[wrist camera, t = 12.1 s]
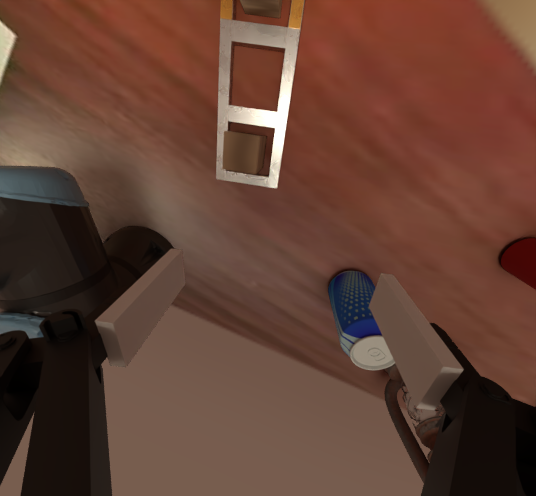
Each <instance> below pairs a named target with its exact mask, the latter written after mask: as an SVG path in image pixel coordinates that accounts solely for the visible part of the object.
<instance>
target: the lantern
mask: <svg viewBox="0 0 536 496" xmlns="http://www.w3.org/2000/svg"><path fill="white" fill-rule="evenodd" d="M384 370H385V371H386V372H387V373H388V374H389V376H390V378H391V379H390V380H389V381H388V383H387V385H386V387H385V401H386V405H387V407H388V411H389V414H390V416H391V418H392V421H393V423H394V425H395V427H396V429H397V431H398V433H399V436H400V438H401V440H402V442H403V444H404V446H405V448H406V450H407V452H408V454H409V456H410V458H411V460H412V462H413V464H414V466H415V468H416V470H417V472H418V474H419V475H420V477H421V479H422V481H423V483H424V482H425V478H426V475H427V471H428V467H429V462H430V460H431V456H432V452H433V448H434V445H435V441H436V437H437V433H438V430H439V427H438V428H437V427H435V425H436V423H437V422H438V421H439V419H440V418H441V417H442V416H439V415H440V413H441V411H442V413H443V414H444V413H445V409H444V408H443V406H442V404H440V403H439V404H438V406H437V407H438V408H439V409H438V408H437V407H436V408H437V410H427V409H420V410H422V412H420V410H419V409H416V408H414V402H413V400H411V401H410V399H411V397H410V393H409V391H407V392H405V390H406V389H405V388H406V385H405V383H404V381H403V378H402V376H401V374H400V372H399V370H398V368H397V366H396V364H393V365H392V366H390V367H388V368H385V369H384ZM402 386H405V387H404V390H403V388H402ZM400 388H402V390H403V392H404V395H405V398H406V399H404V395H403V399H404V402H405V403H406V406H407V409H408V414H409V413H410V412H413V414H412V413H410V414H409V416H410V415H411V414H412V415H414V416H413V417H414V418H416V419H414V420H415V421H416V422H419V424H418V425H417V427H416V426H414V427H415V430H416V434H417V436H418V437H419V438H420V440H421V442H422V444H424V445H425V446H426V447H428V448H430V450H431V451H430V452H429V454H428V460H429V462H428V460H427V459H426V457H425V455H424V453H423V451H422V450H421V448H420V446H419V444H418V442H417V440H416V438H415V437H414V435H413V433H412V431H411V429H410V427H409V426H408V424H407V422H406V420H405V418H404V416H403V414H402V412H401V409H400V407H399V404H398V401H397V392H398V390H399V389H400ZM406 394H407V395H406ZM409 397H410V399H409ZM407 402H408V403H407ZM439 405H441V406H442V407H441V406H440V407H439ZM442 408H443V409H442ZM418 410H419V411H418ZM435 411H439V412H438V413H436V412H435ZM443 411H444V412H443ZM421 413H422V414H421ZM443 414H441V415H443ZM415 415H416V416H415ZM417 416H418V417H417ZM410 418H411V419H413V418H412V417H411V416H410ZM413 425H414V424H413Z"/></svg>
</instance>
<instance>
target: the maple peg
mask: <svg viewBox="0 0 536 496" xmlns="http://www.w3.org/2000/svg"><path fill="white" fill-rule="evenodd" d="M240 2H241V4H242V7H243V9H244V12H245V14H250V15H258V16H265V17H273V18H280V16H281V7H282V0H240Z"/></svg>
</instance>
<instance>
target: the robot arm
mask: <svg viewBox="0 0 536 496" xmlns="http://www.w3.org/2000/svg"><path fill="white" fill-rule="evenodd" d="M88 206H89V203H88V202H86V200H85V198H84V196H83V194H82V192H81V190H80V188H79V186H78V184H77V181H76V180H75V178H74V177H73V176H72V175H71V174H70V173H68V172H67V171H65V170H63V169H60V168H55V167H38V166H0V485H1V483H2V481H3V478H4V476H5V474H6V472H7V470H8V467H9V465H10V463H11V461H12V459H13V457H14V455H15V452H16V450H17V448H18V446H19V444H20V441H21V439H22V437H23V435H24V433H25V431H26V429H27V426H28V424H29V422H30V420H31V418H32V416H33V413H34V418H33V425H32V430H31V436H30V443H29V448H28V454H27V460H26V466H25V472H24V478H23V484H22V491H21V496H112V489H111V474H110V461H109V448H108V436H107V435H108V434H107V421H106V408H105V394H104V381H103V369H102V366H101V364H102V362H103V361H104V360H105V359H106V357H107V358H108V360H109V363H110V365H111V366H119V367H127V366H128V364H129V363H130V362H131V360H132V358H133V357H134V356H135V354H136V353H137V352H138V350H139V349H140V347H141V346H142V344H143V343H144V342H145V340H146V339H147V338H148V336H149V335H150V333H151V332H152V330H153V329H154V328H155V326H156V325H157V323H158V322H159V321H160V319H161V317H162V316H163V315H164V313H165V312H166V311H167V309H168V308H169V306H170V305H171V304H172V302H173V301H174V299H175V298H176V297H177V295H178V294H179V292H180V291H181V289H182V288H183V287H184V285H185V284H186V283H185V273H184V262H183V251H182V250H179V249H174V248H173V247H172V245H171V244H170V243H169V242H168V241H167V240H166V239H165V238H164V237H162V236H161V235H160V234H158V233H156V232H154V231H152V230H150V229H147V228H144V227H138V226H130V227H125V228H122V229H120V230H118V231H116V232H115V233H113V234H111V235H110V236H109V237H108V238H107V239H106V240H105V241H104V243H102V241H101V238H100V236H99V233H98V231H97V228H96V226H95V223H94V221H93V218H92V216H91V213H90V210H89V208H88ZM369 308H370V310H371V312H372V314H373V316H374V319H375V321H376V323H377V325H378V327H379V329H380V331H381V334H382V336H383V338H384V340H385V342H386V344H387V346H388V349H389V351H390V353H391V355H392V357H393V359H394V361H395V364H396V366H397V368H398V370H399V372H400V374H401V376H402V378H403V381H404V383H405V385H406V387H407V389H408V391H409V393H410V396H411V398H412V400H413V402H414V404H415V406H416V408H420V409H427V410H435V409H436V407H437V406H438V404H439V403H440V402H441V404H442V406H443V408H444V409H445V411H446V412H445V413H444V414H443V415H442V417H441V418H440V419H439V421H438V422H437V423H436V425H435V427H437V428H438V427H439V430H438V433H437V437H436V441H435V445H434V448H433V452H432V456H431V460H430V463H429V467H428V471H427V475H426V478H425V482H424V486H423V490H422V493H421V496H536V407H534V406H531V405H528V404H526V403H523V402H521V401H518V400H515V399H513V398H511V396H510V395H509V394H508V392H506V391H505V390H504V389H503V388H502V387H501V386H500V385H498V384H497V383H495V382H493V381H492V380H490V379H487V378H485V377H481V376H480V375H479V373H478V372H477V371H476V370H475V368H474V367H473V366H472V365H471V363H470V362H469V361H468V360H467V358H466V357H465V356H464V355H463V353H462V352H461V351H460V350H459V349H458V347H457V346H456V345H455V343H454V342H452V340H451V338H450V337H449V336H448V335H447V333H446V332H445V331H444V330H443V329H441V328H440V327H439V326H438V325H436V324H435V323H429V322H428V321H427V319H426V318H425V317H424V315H423V314H422V313H421V311H420V310H419V309H418V307H417V306H416V305H415V303H414V302H413V301H412V299H411V298H410V297H409V295H408V294H407V293H406V291H405V290H404V289H403V287H402V286H401V285H400V283H399V282H398V281H397V279H396V278H395V277H394V275H391V274H383V273H381V274H380V277H379V280H378V283H377V285H376V288H375V291H374V294H373V296H372V299H371V302H370V304H369ZM34 411H35V412H34Z"/></svg>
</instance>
